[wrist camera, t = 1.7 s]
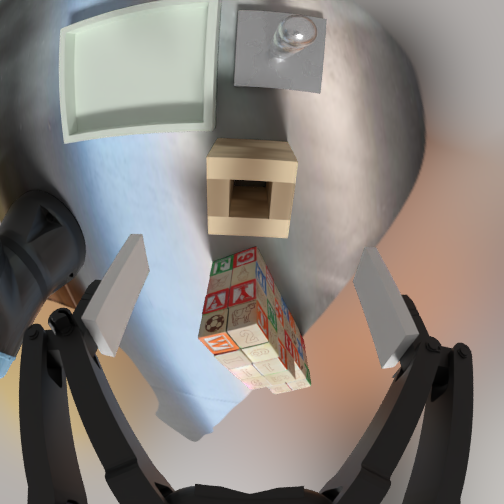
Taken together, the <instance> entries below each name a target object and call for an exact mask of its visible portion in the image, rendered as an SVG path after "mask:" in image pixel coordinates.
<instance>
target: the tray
mask: <svg viewBox="0 0 504 504" xmlns="http://www.w3.org/2000/svg"><path fill="white" fill-rule="evenodd" d="M221 4H222V1H221V0H160V1H154V2H148V3H143V4H139V5H134V6H130V7H126V8H122V9H118V10H114V11H110V12H107V13H104V14H100V15H97V16H94V17H91V18H88V19H85V20H82V21H80V22H77V23H74V24H72V25H69V26H67V27H64V28H62V29H61V31H60V46H59V91H60V108H61V119H62V129H63V137H64V144H66V143H72V142H78V141H84V140H91V139H98V138H106V137H114V136H123V135H134V134H147V133H163V132H194V131H213V130H214V128H215V127H216V97H217V70H218V50H219V33H220V18H221Z"/></svg>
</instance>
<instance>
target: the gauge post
mask: <svg viewBox="0 0 504 504" xmlns="http://www.w3.org/2000/svg"><path fill="white" fill-rule="evenodd" d="M326 20H327V19H322V18H317V17H311V16H305V15H299V14H290V13H281V12H270V11H255V10H239V11H238V25H237V41H236V58H235V76H234V86H250V87H267V88H279V89H289V90H298V91H306V92H313V93H319V94H320V92H321V82H322V71H323V60H324V48H325V35H326Z"/></svg>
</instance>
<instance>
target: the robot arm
mask: <svg viewBox="0 0 504 504" xmlns="http://www.w3.org/2000/svg"><path fill="white" fill-rule="evenodd" d="M85 254H86V250H85V242H84V238H83V235H82V232H81V230H80V228H79V226H78V224H77V222H76V220H75V218H74V217H73V215H72V214H71V213H70V211H69V210H68V209H67V208H66V207H65V206H64V205H63V204H62V203H61V202H60V201H59V200H58V199H56V198H55V197H53V196H52V195H50V194H48V193H46V192H43V191H37V190H33V191H28V192H26V193H24V194H23V195H22V196H21V197H19V198H18V199H17V200H16V201H15V202H14V203H13V204H12V205H11V207H10V208H9V210H8V212H7V214H6V215H5V217H4V219H3V221H2V223H1V225H0V378H2V377H4V376H5V374H6V373H7V371H8V369H9V367H10V365H11V364H12V362H13V361H14V360H15V359H16V355H17V353H18V351H19V349H20V347H21V345H22V354H21V364H20V381H19V418H20V434H21V445H22V453H23V460H24V467H25V473H26V478H27V483H28V504H88V503H87V497H86V492H85V488H84V485H83V481H82V477H81V474H80V469H79V465H78V461H77V456H76V452H75V447H74V441H73V435H72V429H71V423H70V416H69V407H68V397H67V385H66V377H67V381H68V384H69V387H70V389H71V393H72V396H73V399H74V401H75V404H76V407H77V410H78V412H79V415H80V417H81V420H82V422H83V425H84V427H85V429H86V432H87V434H88V436H89V439H90V441H91V443H92V445H93V447H94V449H95V451H96V453H97V455H98V457H99V459H100V461H101V463H102V465H103V467H104V469H105V472H106V473H105V479H106V482H107V483H108V485H109V487H110V489H111V491H112V492H113V494H114V496H115V497H116V499H117V500H118V502H119V503H120V504H380V503H381V501H382V500H383V498H384V497H385V495H386V493H387V492H388V490H389V488H390V486H391V481H390V477H391V475H392V473H393V471H394V469H395V468H396V466H397V464H398V462H399V460H400V458H401V456H402V455H403V452H404V451H405V449H406V447H407V444H408V443H409V441H410V438H411V436H412V434H413V432H414V430H415V427H416V425H417V423H418V420H419V418H420V416H421V413H422V411H423V408H424V406H425V412H424V419H423V424H422V430H421V435H420V441H419V445H418V450H417V454H416V458H415V462H414V466H413V470H412V473H411V477H410V480H409V483H408V487H407V490H406V493H405V496H404V500H403V503H402V504H460V498H461V493H462V489H463V485H464V480H465V476H466V470H467V464H468V458H469V451H470V443H471V433H472V420H473V419H472V418H473V365H472V354H471V351H470V349H469V347H468V346H467V345H465V344H463V343H457V344H456V345H455V346H454V347H453V348H448V347H443V346H441V344H440V343H439V341H438V340H437V339H435V338H434V337H431V336H429V334H428V332H427V330H426V328H425V325H424V323H423V321H422V319H421V317H420V316H419V313H418V311H417V310H416V307H415V305H414V303H413V301H412V300H411V299H410V298H409V297H408V296H407V295H401V294H400V292H399V290H398V288H397V286H396V284H395V282H394V280H393V278H392V276H391V274H390V272H389V270H388V269H387V267H386V265H385V263H384V261H383V259H382V257H381V256H380V254H379V252H378V250H377V248H376V247H365V248H364V251H363V254H362V257H361V260H360V263H359V266H358V268H357V271H356V274H355V277H354V280H353V283H354V286H355V289H356V291H357V294H358V297H359V299H360V302H361V305H362V308H363V311H364V314H365V317H366V320H367V323H368V326H369V328H370V332H371V335H372V338H373V341H374V344H375V347H376V351H377V354H378V358H379V361H380V364H381V368H390V367H394V366H395V365H396V364H397V363H398V362H399V361H400V364H401V367H400V368H399V370H398V371H397V372H396V373H395V374H394V376H393V378H394V377H395V378H394V380H393V383H392V384H391V386H390V388H389V391H388V393H387V394H386V396H385V398H384V400H383V402H382V404H381V406H380V407H379V409H378V411H377V413H376V415H375V416H374V418H373V420H372V422H371V423H370V425H369V427H368V428H367V430H366V432H365V433H364V435H363V436H362V438H361V439H360V441H359V443H358V444H357V446H356V447H355V449H354V450H353V452H352V453H351V455H350V456H349V457H348V459H347V460H346V462H345V463H344V465H343V466H342V467H341V469H340V470H339V471H338V473H337V474H336V475H335V476H334V477H333V478H332V479H331V480H329V481H328V482H327V483H326V485H325V486H324V487H323V488H322V489H321V491H320V492H319V493H318V492H315V491H312V490H308V489H304V486H300V487H284V488H275V489H271V490H267V491H263V492H258V493H253V494H247V493H243V492H239V491H236V490H231V489H228V488H224V487H221V486H209V485H201V484H195V486H190V487H186V488H182V489H179V490H177V491H174V489H173V488H172V487H171V486H170V484H169V483H168V482H167V480H166V479H165V478H164V477H163V475H162V474H161V473H160V472H159V471H158V470H157V469H156V467H155V466H154V465H153V463H152V461H151V460H150V459H149V457H148V455H147V454H146V452H145V451H144V449H143V448H142V446H141V444H140V443H139V441H138V439H137V437H136V436H135V434H134V432H133V431H132V429H131V427H130V425H129V423H128V421H127V420H126V418H125V416H124V414H123V412H122V410H121V408H120V406H119V404H118V402H117V400H116V398H115V396H114V394H113V392H112V390H111V388H110V386H109V383H108V381H107V379H106V376H105V374H104V372H103V369H102V367H101V365H100V362H99V360H98V357H97V356H96V354H95V353H96V351H97V348H98V349H99V350H100V352H101V354H104V355H108V356H113V357H115V355H116V352H117V349H118V347H119V344H120V341H121V339H122V336H123V333H124V331H125V328H126V326H127V323H128V321H129V318H130V316H131V313H132V311H133V308H134V306H135V303H136V301H137V299H138V296H139V294H140V292H141V289H142V287H143V285H144V282H145V280H146V278H147V276H148V273H149V271H150V270H149V265H148V261H147V256H146V251H145V246H144V241H143V236H142V234H130V236H129V237H128V239H127V241H126V242H125V244H124V245H123V247H122V248H121V250H120V251H119V253H118V255H117V256H116V258H115V259H114V261H113V263H112V264H111V266H110V268H109V269H108V271H107V273H106V274H105V276H104V278H103V279H102V280H95V281H94V282H92V283H91V284H90V285H89V286H88V288H87V290H86V291H85V294H84V295H83V296H82V298H81V300H80V302H79V303H78V305H77V307H76V309H75V311H74V312H73V314H72V313H71V312H70V310H69V309H67V308H59V309H57V310H55V311H54V312H53V313H52V314H51V315H50V317H49V319H48V324H49V326H50V327H51V329H52V330H44V329H43V327H42V326H41V325H40V324H33V322H34V320H35V318H36V316H37V315H38V313H39V311H40V309H41V307H42V306H43V304H44V302H45V301H46V299H47V298H48V297H49V296H50V295H51V294H53V293H54V292H55V291H57V290H58V289H60V288H61V287H62V286H64V285H65V284H66V283H68V282H69V281H71V280H72V279H73V278H74V277H75V276H76V275H77V273H78V272H79V270H80V269H81V267H82V266H83V263H84V260H85ZM32 324H33V325H32ZM425 403H426V405H425Z"/></svg>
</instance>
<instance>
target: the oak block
mask: <svg viewBox="0 0 504 504" xmlns="http://www.w3.org/2000/svg"><path fill="white" fill-rule="evenodd" d="M297 166H298V161H297V159H296V157H295V155H294V153H293V151H292V149H291V147H290V146H289V144H288V142H283V141H270V140H254V139H231V138H217V140H216V142H215V143H214V145H213V147H212V149H211V150H210V152H209V154H208V156H207V215H208V234H214V235H237V236H258V237H277V238H288V232H289V225H290V218H291V211H292V204H293V197H294V189H295V182H296V174H297ZM234 180H253V181H266V187H251V186H234Z"/></svg>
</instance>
